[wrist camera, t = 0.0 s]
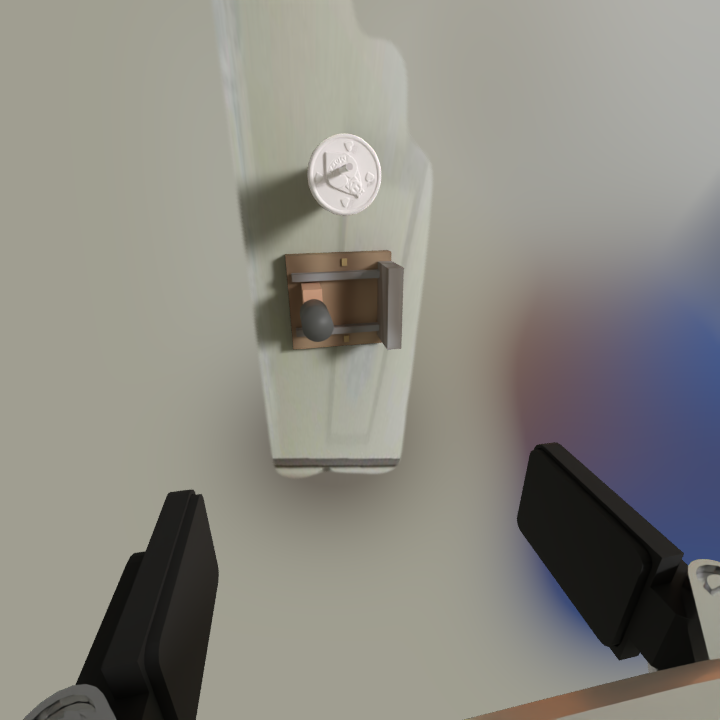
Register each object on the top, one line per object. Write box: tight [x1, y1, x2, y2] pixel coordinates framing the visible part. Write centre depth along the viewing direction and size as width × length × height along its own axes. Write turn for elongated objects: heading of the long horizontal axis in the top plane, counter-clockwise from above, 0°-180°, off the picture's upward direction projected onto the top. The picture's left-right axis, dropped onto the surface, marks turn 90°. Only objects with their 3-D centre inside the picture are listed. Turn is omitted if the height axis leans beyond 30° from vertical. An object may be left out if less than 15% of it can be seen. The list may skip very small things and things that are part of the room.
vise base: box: [285, 250, 404, 350], centre depth 44 cm, size 12×11×6 cm
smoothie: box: [307, 134, 381, 216], centre depth 35 cm, size 6×6×14 cm
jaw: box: [300, 282, 334, 342], centre depth 40 cm, size 3×5×9 cm, turn 1°
